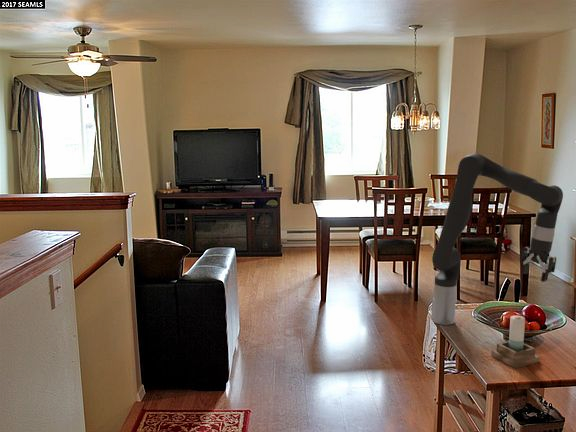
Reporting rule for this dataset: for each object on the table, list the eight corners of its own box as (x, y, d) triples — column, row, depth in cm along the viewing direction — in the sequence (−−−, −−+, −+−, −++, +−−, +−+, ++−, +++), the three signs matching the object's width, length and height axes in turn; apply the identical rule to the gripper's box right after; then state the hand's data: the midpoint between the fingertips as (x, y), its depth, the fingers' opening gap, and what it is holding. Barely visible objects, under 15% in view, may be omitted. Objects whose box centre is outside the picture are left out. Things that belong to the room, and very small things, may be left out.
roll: (505, 352, 220) (507, 316, 217) (515, 349, 222) (517, 314, 219) (515, 357, 215) (518, 320, 213) (525, 354, 217) (528, 318, 215)
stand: (491, 355, 222) (492, 343, 221) (514, 349, 227) (515, 337, 226) (515, 368, 211) (516, 355, 210) (539, 361, 216) (540, 349, 215)
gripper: (520, 232, 227) (512, 272, 230) (551, 243, 214) (542, 285, 218) (533, 231, 230) (525, 270, 234) (565, 242, 218) (556, 283, 222)
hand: (534, 277), depth 226 cm, fingers open, 8 cm apart
